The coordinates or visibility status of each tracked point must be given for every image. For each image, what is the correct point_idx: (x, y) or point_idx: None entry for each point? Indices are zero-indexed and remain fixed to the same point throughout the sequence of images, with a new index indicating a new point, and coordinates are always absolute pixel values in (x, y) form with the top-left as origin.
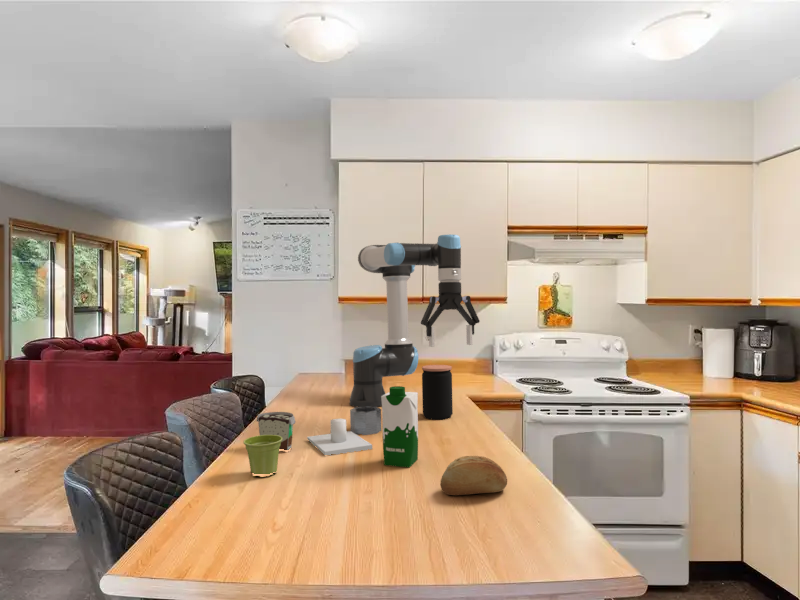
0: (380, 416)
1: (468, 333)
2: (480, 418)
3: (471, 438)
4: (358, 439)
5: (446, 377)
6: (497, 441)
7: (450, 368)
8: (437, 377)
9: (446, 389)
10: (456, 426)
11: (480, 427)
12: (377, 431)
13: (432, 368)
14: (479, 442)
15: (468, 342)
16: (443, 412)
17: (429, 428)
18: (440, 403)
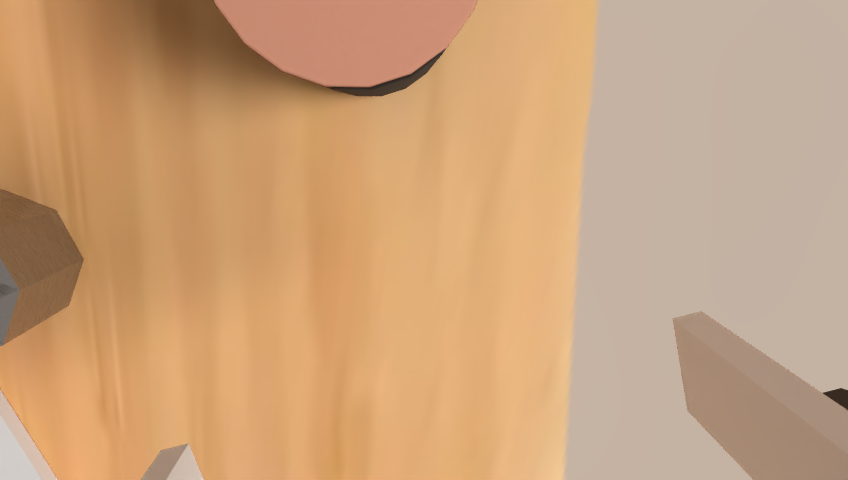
0: (41, 284)
1: (775, 458)
2: (579, 87)
3: (454, 418)
4: (1, 450)
5: (418, 71)
6: (538, 464)
7: (468, 16)
8: (342, 89)
9: (413, 78)
10: (431, 230)
11: (531, 261)
12: (66, 301)
13: (291, 57)
14: (471, 469)
15: (694, 381)
16: (390, 92)
17: (305, 249)
18: (372, 94)
